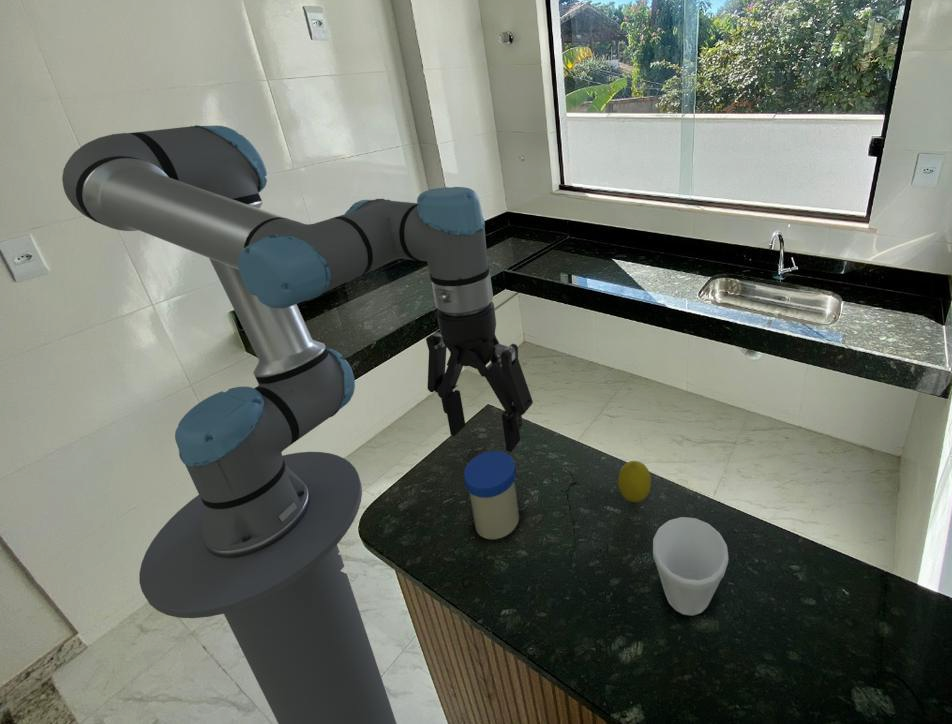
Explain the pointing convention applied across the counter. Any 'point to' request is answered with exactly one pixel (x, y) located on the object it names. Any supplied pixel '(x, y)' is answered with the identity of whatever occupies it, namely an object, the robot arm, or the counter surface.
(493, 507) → the jar
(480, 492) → the jar lid
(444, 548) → the counter surface
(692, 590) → the cup
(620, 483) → the lemon
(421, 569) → the counter surface
